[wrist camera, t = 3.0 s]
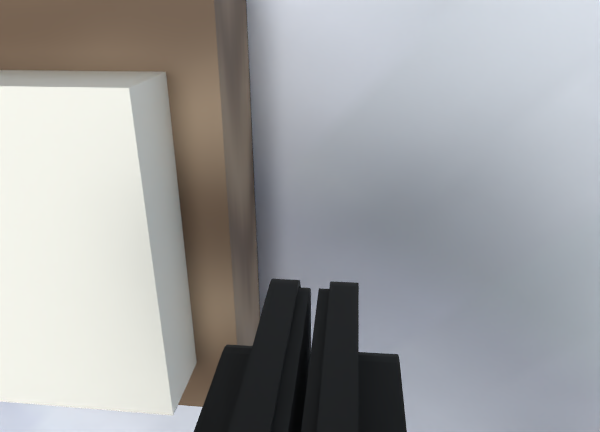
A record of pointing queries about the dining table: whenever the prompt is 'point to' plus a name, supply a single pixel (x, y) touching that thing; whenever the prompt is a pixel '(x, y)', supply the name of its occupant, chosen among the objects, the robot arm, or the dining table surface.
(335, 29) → the dining table surface
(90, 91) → the cream box
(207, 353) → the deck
